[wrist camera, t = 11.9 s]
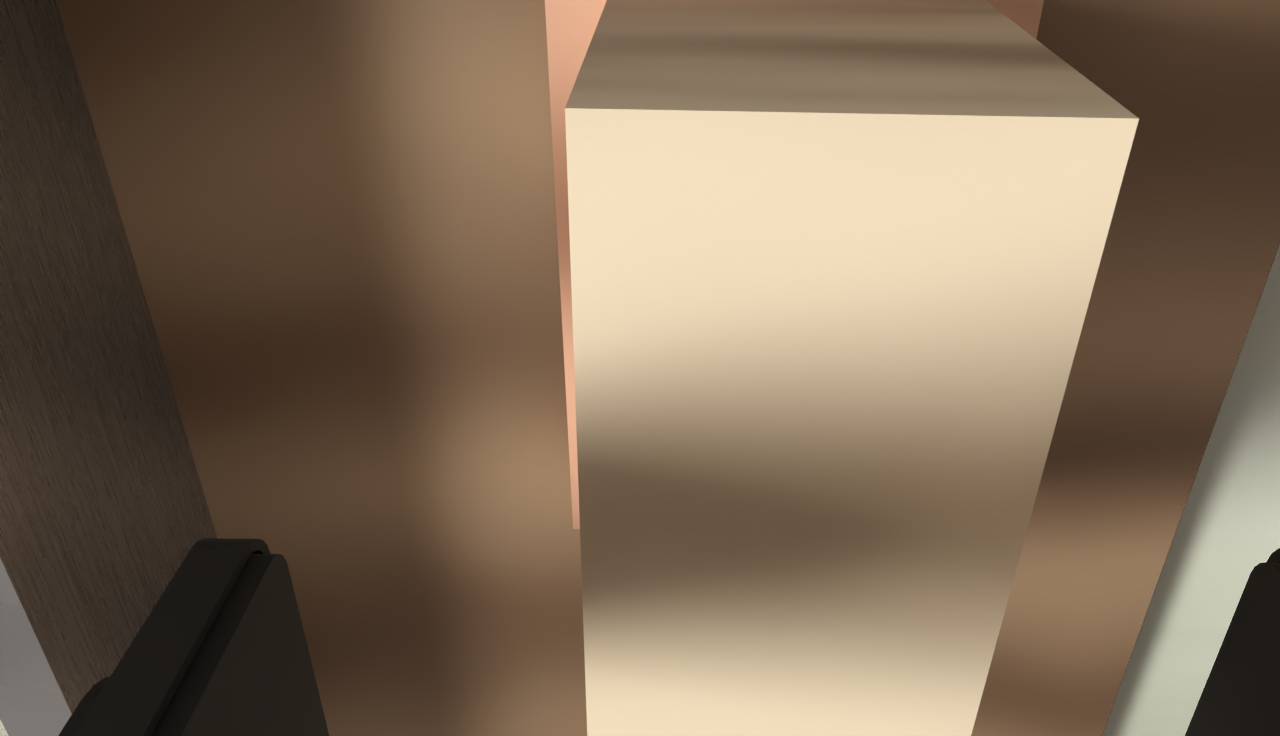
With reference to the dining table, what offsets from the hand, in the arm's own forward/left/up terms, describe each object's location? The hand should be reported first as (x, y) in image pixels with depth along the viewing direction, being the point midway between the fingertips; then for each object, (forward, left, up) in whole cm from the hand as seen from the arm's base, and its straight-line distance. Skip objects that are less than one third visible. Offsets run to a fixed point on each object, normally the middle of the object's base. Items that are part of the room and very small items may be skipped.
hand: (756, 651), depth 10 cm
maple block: (0, -1, -8) cm, 8 cm away
